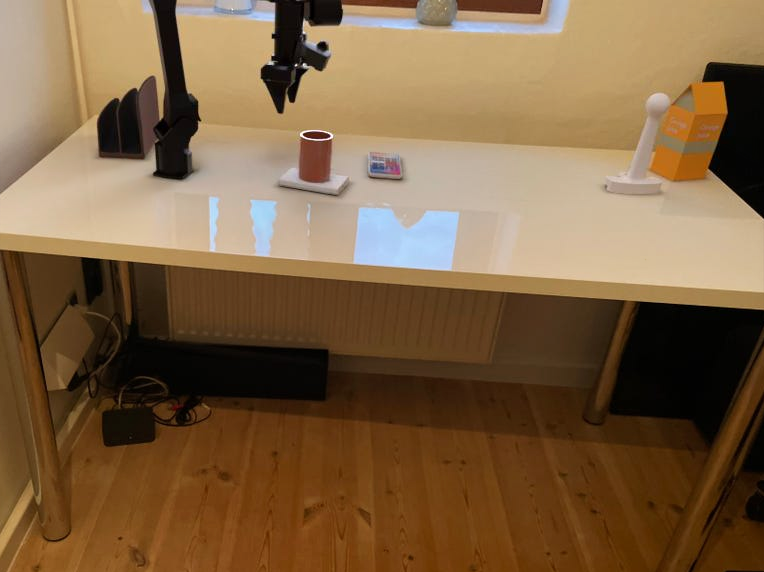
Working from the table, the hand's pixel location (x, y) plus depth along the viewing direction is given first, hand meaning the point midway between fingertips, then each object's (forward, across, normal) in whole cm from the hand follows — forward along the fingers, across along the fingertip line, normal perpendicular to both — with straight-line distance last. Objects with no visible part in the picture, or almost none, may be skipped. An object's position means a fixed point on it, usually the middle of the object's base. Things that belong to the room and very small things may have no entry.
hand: (286, 108), depth 153 cm
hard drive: (+12, -10, -9) cm, 18 cm away
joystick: (+12, +13, -73) cm, 75 cm away
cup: (+10, -10, -9) cm, 17 cm away
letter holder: (+12, 0, +36) cm, 38 cm away
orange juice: (+12, +27, -85) cm, 90 cm away
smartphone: (+12, +6, -21) cm, 25 cm away
